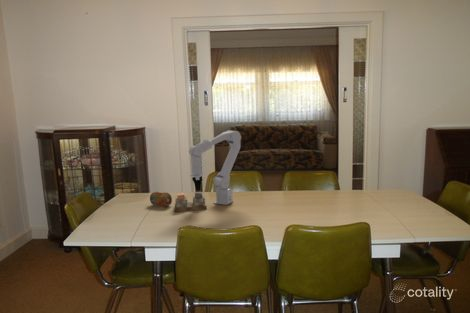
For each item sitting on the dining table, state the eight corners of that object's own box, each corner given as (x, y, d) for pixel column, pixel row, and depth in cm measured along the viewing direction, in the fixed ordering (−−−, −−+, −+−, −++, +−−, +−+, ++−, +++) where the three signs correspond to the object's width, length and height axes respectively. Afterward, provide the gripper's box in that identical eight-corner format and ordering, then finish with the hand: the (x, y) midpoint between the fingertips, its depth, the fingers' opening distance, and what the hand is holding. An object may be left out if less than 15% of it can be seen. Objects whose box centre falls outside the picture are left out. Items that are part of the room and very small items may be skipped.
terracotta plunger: (184, 199, 208) (184, 193, 208) (184, 201, 204) (184, 194, 204) (177, 200, 208) (177, 193, 207) (177, 202, 204) (177, 195, 203)
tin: (150, 205, 217) (149, 191, 216) (153, 203, 220) (152, 190, 219) (169, 207, 210) (168, 193, 209) (173, 206, 213) (172, 192, 212)
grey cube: (202, 198, 209) (201, 191, 209) (202, 200, 206) (201, 193, 205) (195, 198, 209) (194, 192, 208) (195, 200, 205) (195, 193, 204)
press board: (205, 204, 213) (204, 194, 212) (206, 209, 204) (206, 198, 203) (175, 206, 211) (174, 197, 210) (174, 211, 201) (174, 201, 200)
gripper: (189, 165, 211) (190, 187, 213) (189, 169, 197) (191, 193, 199) (201, 164, 212) (202, 186, 214) (202, 168, 198) (204, 192, 200)
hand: (197, 189), depth 206 cm, fingers open, 3 cm apart
